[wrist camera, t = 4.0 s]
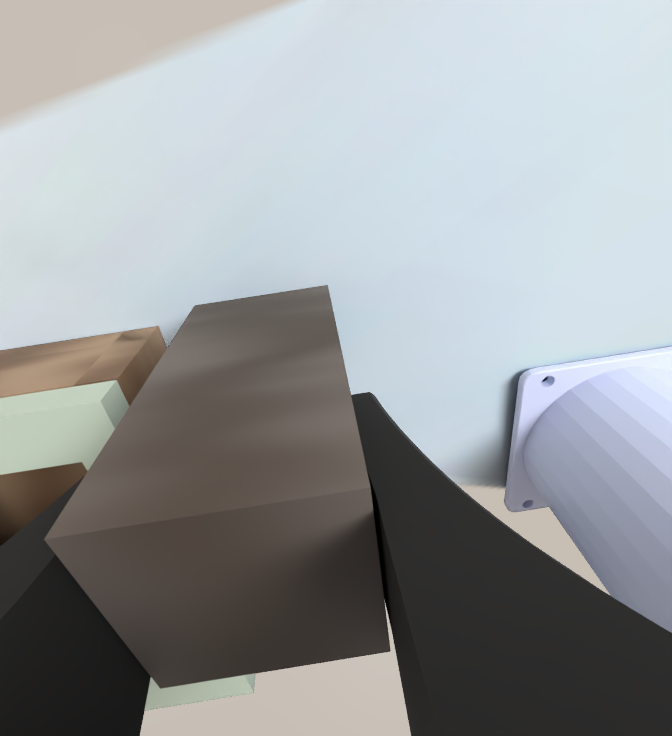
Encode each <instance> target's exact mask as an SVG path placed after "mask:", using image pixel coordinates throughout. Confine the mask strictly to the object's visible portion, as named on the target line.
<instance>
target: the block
mask: <svg viewBox="0 0 672 736" xmlns="http://www.w3.org/2000/svg"><path fill="white" fill-rule="evenodd" d="M44 540H45V541H46V543H47V544H48V545H49V547H50V548H51V549H52V550H53V552H54V553H55V554H56V556H57V557H58V558H59V559H60V561H61V562H62V563H63V565H64V566H65V567H66V568H67V570H68V571H69V572H70V574H71V575H72V576H73V577H74V579H75V580H76V581H77V582H78V584H79V585H80V586H81V588H82V589H83V590H84V591H85V593H86V594H87V595H88V597H89V598H90V599H91V600H92V602H93V603H94V604H95V606H96V607H97V608H98V609H99V611H100V612H101V613H102V615H103V616H104V617H105V618H106V620H107V621H108V622H109V624H110V625H111V626H112V627H113V629H114V630H115V631H116V633H117V634H118V635H119V636H120V638H121V639H122V640H123V641H124V643H125V644H126V645H127V647H128V648H129V649H130V650H131V652H132V653H133V654H134V656H135V657H136V658H137V659H138V661H139V662H140V663H141V665H142V666H143V667H144V668H145V670H146V671H147V672H148V674H149V675H150V676H151V677H152V679H153V680H154V681H155V683H156V684H157V685H158V686H159V688H160V689H162V688H168V687H174V686H180V685H187V684H193V683H199V682H205V681H211V680H217V679H223V678H230V677H236V676H242V675H248V674H254V673H260V672H267V671H272V670H278V669H285V668H291V667H297V666H303V665H310V664H316V663H322V662H328V661H334V660H340V659H346V658H353V657H358V656H365V655H371V654H377V653H383V652H390V644H389V635H388V627H387V619H386V611H385V602H384V594H383V586H382V578H381V569H380V561H379V553H378V545H377V537H376V528H375V520H374V512H373V504H372V495H371V487H370V483H369V478H368V473H367V468H366V464H365V459H364V454H363V450H362V445H361V440H360V436H359V431H358V426H357V421H356V417H355V412H354V407H353V403H352V398H351V393H350V388H349V384H348V379H347V374H346V370H345V365H344V360H343V355H342V351H341V346H340V341H339V337H338V332H337V327H336V322H335V318H334V313H333V308H332V304H331V299H330V294H329V290H328V285H325V286H319V287H312V288H306V289H299V290H293V291H286V292H280V293H273V294H267V295H260V296H254V297H247V298H241V299H234V300H228V301H222V302H215V303H209V304H202V305H196V306H194V307H193V309H192V311H191V312H190V314H189V315H188V317H187V318H186V320H185V321H184V323H183V324H182V326H181V328H180V329H179V331H178V332H177V334H176V335H175V337H174V338H173V340H172V342H171V343H170V345H169V346H168V348H167V349H166V351H165V352H164V354H163V355H162V357H161V359H160V360H159V362H158V363H157V365H156V366H155V368H154V369H153V371H152V373H151V374H150V376H149V377H148V379H147V380H146V382H145V383H144V385H143V387H142V388H141V390H140V391H139V393H138V394H137V396H136V397H135V399H134V400H133V402H132V404H131V405H130V407H129V408H128V410H127V411H126V413H125V414H124V416H123V418H122V419H121V421H120V422H119V424H118V425H117V427H116V428H115V430H114V431H113V433H112V435H111V436H110V438H109V439H108V441H107V442H106V444H105V445H104V447H103V449H102V450H101V452H100V453H99V455H98V456H97V458H96V459H95V461H94V463H93V464H92V466H91V467H90V469H89V470H88V472H87V473H86V475H85V476H84V478H83V480H82V481H81V483H80V484H79V486H78V487H77V489H76V490H75V492H74V494H73V495H72V497H71V498H70V500H69V501H68V503H67V504H66V506H65V507H64V509H63V511H62V512H61V514H60V515H59V517H58V518H57V520H56V521H55V523H54V525H53V526H52V528H51V529H50V531H49V532H48V534H47V535H46V537H45V539H44Z"/></svg>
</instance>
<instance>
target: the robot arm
mask: <svg viewBox="0 0 672 736" xmlns="http://www.w3.org/2000/svg"><path fill="white" fill-rule="evenodd" d="M547 376H549V377H548V379H547V380H546V381H544V382H542V380H543V379H544V378H545V377H547ZM351 398H352V403H353V407H354V412H355V417H356V421H357V426H358V431H359V436H360V440H361V445H362V450H363V454H364V459H365V464H366V468H367V473H368V478H369V483H370V487H371V495H372V504H373V512H374V520H375V528H376V537H377V545H378V553H379V561H380V569H381V578H382V586H383V594H384V600H385V603H386V607H387V611H388V616H389V620H390V624H391V629H392V634H393V639H394V644H395V650H396V654H397V660H398V665H399V671H400V677H401V682H402V687H403V692H404V698H405V704H406V709H407V714H408V720H409V725H410V731H411V736H672V347H666V348H659V349H653V350H646V351H640V352H634V353H627V354H621V355H615V356H608V357H602V358H596V359H589V360H583V361H576V362H570V363H564V364H557V365H551V366H545V367H538V368H532V369H529V370H527V371H525V372H524V373H523V374H522V375H521V376H520V379H519V382H518V391H517V399H516V407H515V416H514V424H513V432H512V441H511V449H510V457H509V466H508V474H507V482H506V491H505V499H504V503H505V506H506V507H507V509H508V510H509V511H512V512H519V511H525V510H532V509H538V508H544V507H550V509H551V510H552V511H553V513H554V515H555V516H556V517H557V519H558V520H559V522H560V523H561V524H562V526H563V527H564V529H565V530H566V532H567V533H568V535H569V536H570V537H571V539H572V540H573V542H574V543H575V545H576V546H577V547H578V549H579V551H580V552H581V553H582V555H583V556H584V558H585V559H586V561H587V562H588V563H589V565H590V566H591V568H592V569H593V571H594V572H595V573H596V575H597V576H598V578H599V579H600V581H601V582H602V584H603V585H604V586H605V588H606V589H607V591H608V592H609V594H610V595H611V596H610V595H608V594H606V593H605V592H603V591H602V590H600V589H599V588H597V587H596V586H594V585H593V584H591V583H590V582H588V581H587V580H585V579H584V578H582V577H581V576H579V575H578V574H576V573H575V572H573V571H572V570H570V569H569V568H567V567H566V566H564V565H562V564H561V563H560V562H558V561H556V560H555V559H553V558H552V557H551V556H549V555H547V554H546V553H545V552H543V551H542V550H540V549H539V548H537V547H536V546H534V545H533V544H531V543H530V542H529V541H527V540H526V539H524V538H523V537H522V536H520V535H519V534H518V533H516V532H515V531H513V530H512V529H511V528H510V527H508V526H507V525H505V524H504V523H503V522H502V521H500V520H499V519H498V518H496V517H495V516H494V515H492V514H491V513H490V512H489V511H487V510H486V509H485V508H484V507H482V506H481V505H480V504H479V503H477V502H476V501H475V500H474V499H472V498H471V497H470V496H469V495H468V494H467V493H465V492H464V491H463V490H462V489H461V488H460V487H459V486H457V485H456V484H455V483H454V482H453V481H452V480H451V479H450V478H449V477H447V476H446V475H445V474H444V473H443V472H442V471H441V470H440V469H439V468H438V467H437V466H436V465H435V464H434V463H433V462H431V461H430V460H429V459H428V458H427V457H426V456H425V455H424V454H423V453H422V452H421V450H420V449H419V448H418V447H417V446H416V445H415V444H414V443H413V442H412V441H411V440H410V439H409V438H408V437H407V436H406V435H405V433H404V432H403V431H402V430H401V429H400V428H399V427H398V426H397V424H396V423H395V422H394V421H393V420H392V418H391V417H390V416H389V415H388V413H387V412H386V411H385V410H384V408H383V407H382V406H381V404H380V403H379V401H378V400H377V398H376V397H375V396H374V395H373V394H372V393H370V392H367V393H361V394H354V395H351ZM83 478H84V476H83V477H82V478H81V479H80V480H79V481H78V482H77V483H75V484H74V485H73V486H72V487H71V488H70V489H69V490H67V491H66V492H65V493H64V494H63V495H62V496H61V497H59V498H58V499H57V500H56V501H55V502H54V503H52V504H51V505H50V506H49V507H48V508H46V509H45V510H44V511H43V512H41V513H40V514H39V515H38V516H37V517H35V518H34V519H33V520H32V521H31V522H29V523H28V524H27V525H26V526H24V527H23V528H22V529H21V530H20V531H18V532H17V533H16V534H15V535H14V536H12V537H11V538H10V539H9V540H7V541H6V542H5V543H4V544H3V545H1V546H0V736H140V730H141V725H142V720H143V715H144V710H145V705H146V700H147V694H148V689H149V684H150V679H151V676H150V675H149V674H148V672H147V671H146V670H145V668H144V667H143V666H142V665H141V663H140V662H139V661H138V659H137V658H136V657H135V656H134V654H133V653H132V652H131V650H130V649H129V648H128V647H127V645H126V644H125V643H124V641H123V640H122V639H121V638H120V636H119V635H118V634H117V633H116V631H115V630H114V629H113V627H112V626H111V625H110V624H109V622H108V621H107V620H106V618H105V617H104V616H103V615H102V613H101V612H100V611H99V609H98V608H97V607H96V606H95V604H94V603H93V602H92V600H91V599H90V598H89V597H88V595H87V594H86V593H85V591H84V590H83V589H82V588H81V586H80V585H79V584H78V582H77V581H76V580H75V579H74V577H73V576H72V575H71V574H70V572H69V571H68V570H67V568H66V567H65V566H64V565H63V563H62V562H61V561H60V559H59V558H58V557H57V556H56V554H55V553H54V552H53V550H52V549H51V548H50V547H49V545H48V544H47V543H46V541H45V540H44V539H45V537H46V535H47V534H48V532H49V531H50V529H51V528H52V526H53V525H54V523H55V521H56V520H57V518H58V517H59V515H60V514H61V512H62V511H63V509H64V507H65V506H66V504H67V503H68V501H69V500H70V498H71V497H72V495H73V494H74V492H75V490H76V489H77V487H78V486H79V484H80V483H81V481H82V480H83Z"/></svg>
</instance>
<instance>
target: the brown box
mask: <svg viewBox="0 0 672 736" xmlns="http://www.w3.org/2000/svg"><path fill="white" fill-rule="evenodd" d="M166 349H167V347H166V345H165V342H164V339H163V337H162V334H161V332H160V329H159V327H158V326H156V327H149V328H143V329H137V330H130V331H124V332H117V333H111V334H104V335H98V336H91V337H85V338H79V339H72V340H66V341H59V342H53V343H46V344H40V345H33V346H27V347H21V348H14V349H8V350H1V351H0V398H4V397H11V396H17V395H24V394H30V393H36V392H43V391H49V390H56V389H62V388H68V387H75V386H81V385H88V384H94V383H100V382H107V381H113V380H117V382H118V384H119V386H120V388H121V390H122V392H123V394H124V396H125V398H126V400H127V402H128V404H129V406H130V405H131V404H132V402H133V400H134V399H135V397H136V396H137V394H138V393H139V391H140V390H141V388H142V387H143V385H144V383H145V382H146V380H147V379H148V377H149V376H150V374H151V373H152V371H153V369H154V368H155V366H156V365H157V363H158V362H159V360H160V359H161V357H162V355H163V354H164V352H165V351H166ZM87 472H88V471H87V469H86V468H85V466H84V465H83V463H82V462H79V463H72V464H66V465H60V466H53V467H47V468H41V469H34V470H28V471H22V472H15V473H9V474H3V475H0V546H1V545H3V544H4V543H5V542H6V541H7V540H9V539H10V538H11V537H12V536H14V535H15V534H16V533H17V532H18V531H20V530H21V529H22V528H23V527H24V526H26V525H27V524H28V523H29V522H31V521H32V520H33V519H34V518H35V517H37V516H38V515H39V514H40V513H41V512H43V511H44V510H45V509H46V508H48V507H49V506H50V505H51V504H52V503H54V502H55V501H56V500H57V499H58V498H59V497H61V496H62V495H63V494H64V493H65V492H66V491H67V490H69V489H70V488H71V487H72V486H73V485H74V484H75V483H77V482H78V481H79V480H80V479H81V478H82V477H83V476H85V475H86V473H87Z"/></svg>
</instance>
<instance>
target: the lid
mask: <svg viewBox="0 0 672 736" xmlns="http://www.w3.org/2000/svg"><path fill="white" fill-rule="evenodd" d="M129 407H130V406H129V404H128V402H127V400H126V398H125V396H124V394H123V392H122V390H121V388H120V386H119V384H118V382H117V380H113V381H107V382H100V383H94V384H88V385H81V386H75V387H68V388H62V389H56V390H49V391H43V392H36V393H30V394H24V395H17V396H11V397H4V398H0V475H3V474H9V473H15V472H22V471H28V470H34V469H41V468H47V467H53V466H60V465H66V464H72V463H79V462H82V463H83V465H84V466H85V468H86V469H87V471H88V470H89V469H90V467H91V466H92V464H93V463H94V461H95V459H96V458H97V456H98V455H99V453H100V452H101V450H102V449H103V447H104V445H105V444H106V442H107V441H108V439H109V438H110V436H111V435H112V433H113V431H114V430H115V428H116V427H117V425H118V424H119V422H120V421H121V419H122V418H123V416H124V414H125V413H126V411H127V410H128V408H129ZM254 684H255V673H254V674H248V675H242V676H236V677H230V678H223V679H217V680H211V681H205V682H199V683H193V684H187V685H180V686H174V687H168V688H162V689H160V688H159V686H158V685H157V684H156V683H155V681H154V680H153V679H152V677H151V679H150V684H149V689H148V694H147V700H146V705H145V710H144V711H146V710H152V709H158V708H164V707H171V706H177V705H182V704H189V703H195V702H201V701H208V700H214V699H220V698H225V697H232V696H237V695H244V694H250V693H254Z"/></svg>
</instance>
